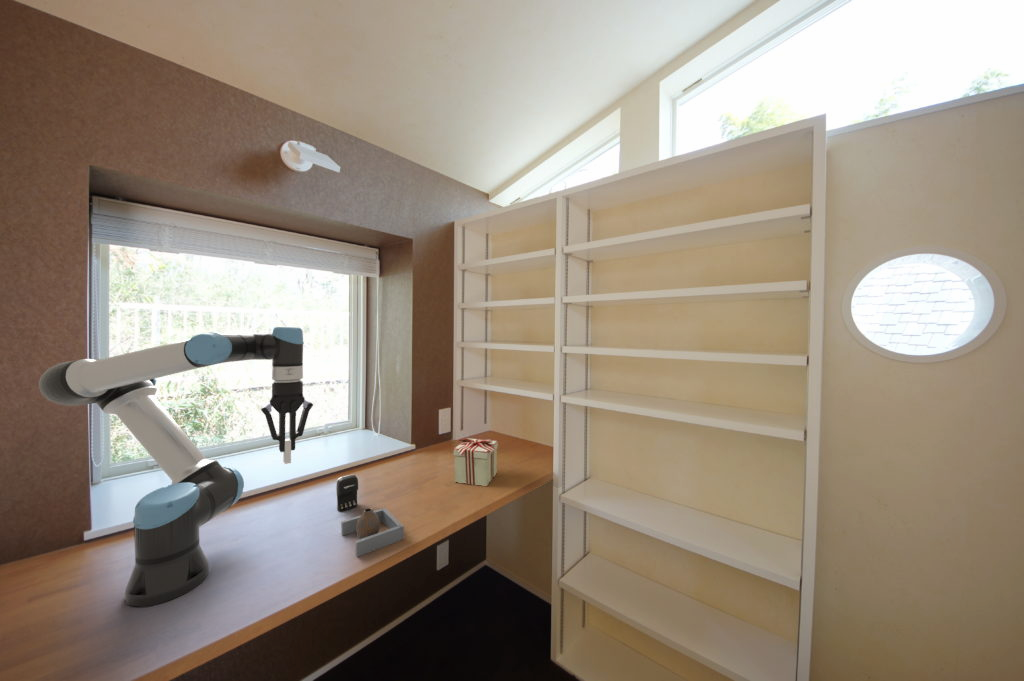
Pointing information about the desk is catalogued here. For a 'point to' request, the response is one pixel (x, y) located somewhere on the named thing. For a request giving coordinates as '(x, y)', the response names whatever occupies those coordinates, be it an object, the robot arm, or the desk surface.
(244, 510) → the desk surface
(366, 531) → the vase
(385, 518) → the box
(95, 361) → the robot arm
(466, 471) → the gift box
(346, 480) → the battery charger
